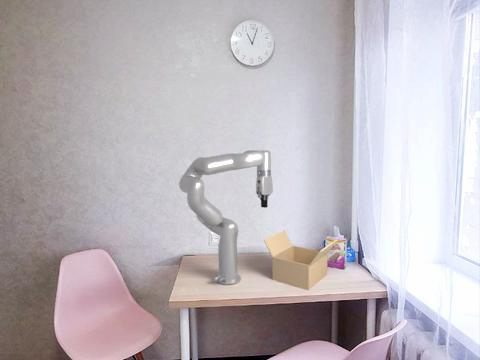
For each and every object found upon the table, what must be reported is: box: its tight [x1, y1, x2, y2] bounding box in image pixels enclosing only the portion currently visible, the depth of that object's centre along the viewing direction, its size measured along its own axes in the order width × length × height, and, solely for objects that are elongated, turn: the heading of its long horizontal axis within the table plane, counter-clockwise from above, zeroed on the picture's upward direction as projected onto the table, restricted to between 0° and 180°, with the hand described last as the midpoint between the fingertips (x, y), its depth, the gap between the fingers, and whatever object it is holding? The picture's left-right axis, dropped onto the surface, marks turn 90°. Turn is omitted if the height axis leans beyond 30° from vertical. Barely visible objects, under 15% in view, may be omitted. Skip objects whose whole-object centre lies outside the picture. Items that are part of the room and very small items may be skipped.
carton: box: [271, 245, 328, 291], centre depth 160 cm, size 22×20×12 cm
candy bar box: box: [324, 235, 348, 270], centre depth 173 cm, size 11×5×16 cm, turn 59°
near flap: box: [310, 240, 338, 266], centre depth 151 cm, size 21×10×1 cm
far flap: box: [263, 230, 294, 257], centre depth 167 cm, size 21×10×1 cm
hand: (264, 207), depth 168 cm, fingers closed
